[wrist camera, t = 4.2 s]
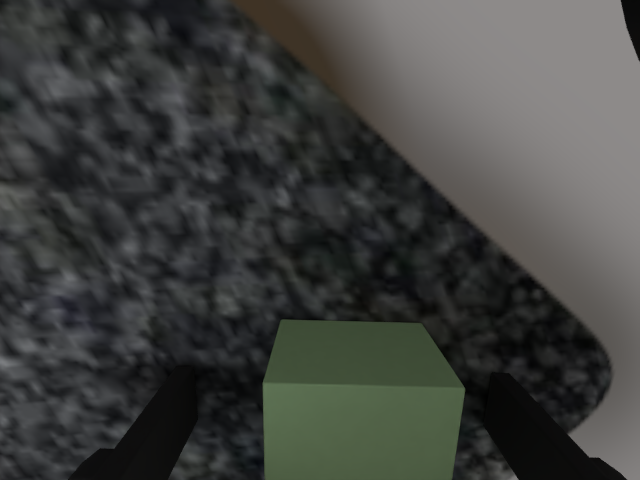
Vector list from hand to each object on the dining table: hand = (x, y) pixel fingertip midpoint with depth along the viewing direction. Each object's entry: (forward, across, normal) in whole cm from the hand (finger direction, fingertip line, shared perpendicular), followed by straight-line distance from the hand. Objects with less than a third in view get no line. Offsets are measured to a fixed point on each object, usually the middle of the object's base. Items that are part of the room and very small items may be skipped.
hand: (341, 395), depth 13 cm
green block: (0, 0, 0) cm, 0 cm away
